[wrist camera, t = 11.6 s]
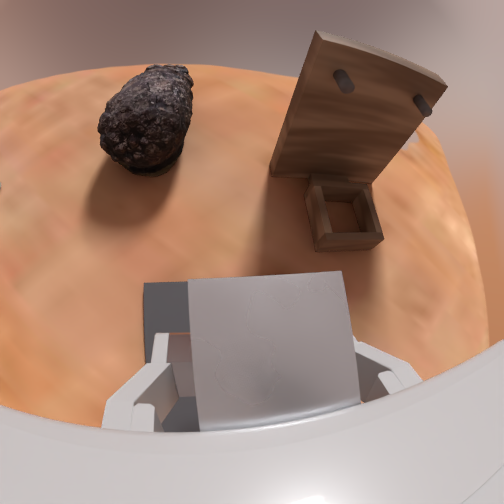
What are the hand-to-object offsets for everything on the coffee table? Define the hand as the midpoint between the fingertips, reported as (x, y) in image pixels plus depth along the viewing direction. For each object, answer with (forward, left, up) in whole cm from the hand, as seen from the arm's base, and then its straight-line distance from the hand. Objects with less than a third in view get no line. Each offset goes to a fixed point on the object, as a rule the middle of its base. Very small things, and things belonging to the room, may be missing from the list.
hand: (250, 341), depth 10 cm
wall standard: (+1, +20, -15) cm, 25 cm away
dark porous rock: (-23, +15, -15) cm, 32 cm away
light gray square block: (+1, 0, -6) cm, 6 cm away
